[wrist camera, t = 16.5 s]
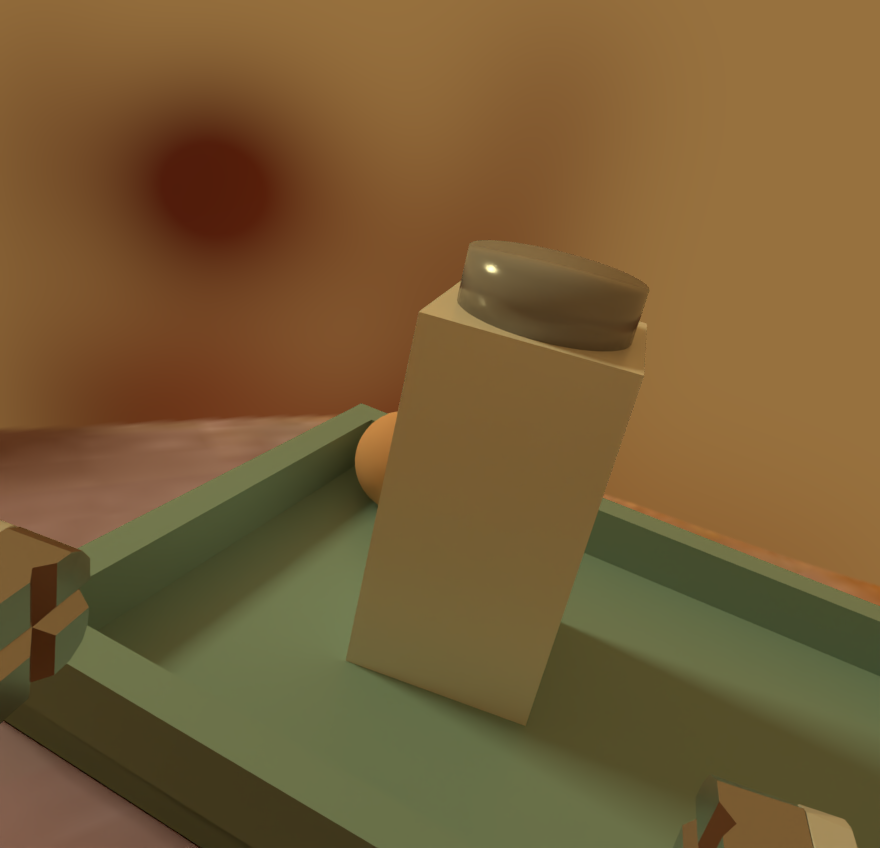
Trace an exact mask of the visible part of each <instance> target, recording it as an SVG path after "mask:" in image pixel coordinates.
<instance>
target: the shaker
mask: <svg viewBox="0 0 880 848" xmlns="http://www.w3.org/2000/svg"><path fill="white" fill-rule="evenodd" d="M648 293H649V287H648V286H647V285H646V284H645V283H643V282H642V281H640V280H639V279H637V278H635V277H633V276H631V275H629V274H627V273H625V272H622V271H620V270H618V269H615V268H612V267H610V266H607V265H604V264H601V263H599V262H595V261H592V260H589V259H586V258H582V257H579V256H575V255H572V254H568V253H564V252H560V251H556V250H552V249H548V248H543V247H538V246H533V245H528V244H521V243H515V242H507V241H496V240H495V241H494V240H480V241H474V242H472V243H470V244H469V249H468V253H467V257H466V261H465V266H464V270H463V275H462V279H461V281H460V282H459V283H457V284H456V285H455V286H453V287H452V288H451V289H449V290H448V291H447V292H445V293H444V294H443V295H441V296H440V297H438V298H437V299H436V300H434V301H433V302H431V303H430V304H429V305H428V306H426V307H425V308H423V309H422V310H421V311H419V314H418V319H417V324H416V328H415V333H414V337H413V342H412V347H411V352H410V356H409V361H408V366H407V371H406V375H405V380H404V385H403V390H402V394H401V399H400V404H399V409H398V413H397V418H396V423H395V428H394V432H393V437H392V442H391V447H390V452H389V456H388V461H387V466H386V471H385V475H384V480H383V485H382V490H381V494H380V499H379V504H378V509H377V513H376V518H375V523H374V528H373V532H372V537H371V542H370V547H369V551H368V556H367V561H366V566H365V570H364V575H363V580H362V585H361V589H360V594H359V599H358V604H357V608H356V613H355V618H354V623H353V627H352V632H351V637H350V642H349V646H348V651H347V656H346V661H348V662H351V663H354V664H356V665H359V666H362V667H365V668H367V669H370V670H373V671H376V672H378V673H381V674H384V675H387V676H389V677H392V678H395V679H398V680H400V681H403V682H406V683H409V684H411V685H414V686H417V687H420V688H422V689H425V690H428V691H431V692H433V693H436V694H439V695H442V696H444V697H447V698H450V699H453V700H455V701H458V702H461V703H464V704H466V705H469V706H472V707H475V708H477V709H480V710H483V711H486V712H488V713H491V714H494V715H497V716H499V717H502V718H505V719H508V720H510V721H513V722H516V723H519V724H521V725H524V726H526V723H527V720H528V717H529V714H530V711H531V708H532V705H533V702H534V699H535V696H536V693H537V690H538V687H539V684H540V681H541V678H542V676H543V673H544V670H545V667H546V664H547V661H548V658H549V655H550V652H551V649H552V646H553V643H554V640H555V637H556V634H557V631H558V628H559V625H560V622H561V619H562V616H563V613H564V611H565V608H566V605H567V602H568V599H569V596H570V593H571V590H572V587H573V584H574V581H575V578H576V575H577V572H578V569H579V566H580V563H581V560H582V557H583V554H584V551H585V548H586V546H587V543H588V540H589V537H590V534H591V531H592V528H593V525H594V522H595V519H596V516H597V513H598V510H599V507H600V504H601V501H602V498H603V495H604V492H605V489H606V486H607V483H608V481H609V477H610V475H611V472H612V469H613V465H614V463H615V460H616V457H617V454H618V451H619V448H620V445H621V442H622V439H623V436H624V433H625V430H626V427H627V424H628V421H629V418H630V416H631V413H632V410H633V407H634V404H635V401H636V398H637V395H638V391H639V389H640V386H641V383H642V380H643V377H644V367H645V348H646V332H647V324H646V323H642V322H639V320H640V317H641V314H642V311H643V308H644V305H645V302H646V299H647V296H648Z"/></svg>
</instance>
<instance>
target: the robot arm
mask: <svg viewBox="0 0 880 848" xmlns="http://www.w3.org/2000/svg"><path fill="white" fill-rule="evenodd" d="M89 580H90V557H88V556H87V555H86V554H85V553H84V552H83V551H82V550H79V549H76V548H74V547H71V546H69V545H66V544H63V543H61V542H58V541H56V540H53V539H50V538H48V537H45V536H43V535H40V534H37V533H35V532H32V531H30V530H27V529H24V528H22V527H17V526H14V525H12V524H9V523H7V522H4V521H2V520H0V723H1V722H3V721H4V720H5V719H6V718H7V717H8V716H9V715H10V714H12V713H13V712H14V711H15V710H16V709H17V708H18V707H19V706H21V705H22V704H23V703H24V702H25V701H26V700H27V699H28V698H29V693H30V686H31V682H34V681H37V680H40V679H43V678H47V677H50V676H53V675H55V674H56V673H57V672H58V671H59V670H60V669H61V668H62V667H63V666H64V665H66V664H67V663H68V662H69V661H70V660H71V658H72V656H73V655H74V653H75V652H76V650H77V648H78V647H79V645H80V644H81V642H82V640H83V637H84V634H85V631H86V628H87V624H88V615H89V606H88V605H87V603H86V601H85V599H84V597H83V595H82V593H81V591H80V590H79V589H80V588H81V587H82V586H84V585H85V584H86V583H87V582H88V581H89ZM695 802H696V819H695V820H693V821H691V822H688V823H686V824H684V825H682V827H681V829H680V832H679V834H678V836H677V839H676V841H675V843H674V846H673V848H858V847H857V844H856V841H855V837H854V834H853V831H852V828H851V826H850V825H849V824H848V823H847V822H846V820H845V819H842V818H839V817H836V816H833V815H830V814H827V813H824V812H821V811H818V810H815V809H812V808H809V807H806V806H803V805H800V804H799V805H796V804H794V803H791V802H789V801H786V800H783V799H780V798H777V797H774V796H771V795H768V794H766V793H763V792H760V791H757V790H754V789H751V788H748V787H745V786H743V785H740V784H737V783H734V782H731V781H728V780H725V779H723V778H720V777H717V776H714V775H711V774H710V775H709V776H708V777H707V778H706V779H705V781H704V782H703V783H702V785H701V787H700V789H699V791H698V793H697V795H696V797H695Z"/></svg>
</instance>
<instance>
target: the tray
mask: <svg viewBox="0 0 880 848" xmlns="http://www.w3.org/2000/svg"><path fill="white" fill-rule="evenodd" d="M385 415H387V413H384V412H382V411H379V410H377V409H374V408H372V407H369V406H366V405H364V404H359V405H357V406H355V407H353V408H352V409H350V410H348V411H346V412H344V413H342V414H340V415H338V416H336V417H334V418H332V419H330V420H328V421H326V422H324V423H322V424H320V425H318V426H316V427H314V428H312V429H310V430H308V431H306V432H305V433H303V434H301V435H299V436H297V437H295V438H293V439H291V440H289V441H287V442H285V443H283V444H281V445H279V446H277V447H275V448H273V449H271V450H269V451H267V452H265V453H263V454H261V455H260V456H258V457H256V458H254V459H252V460H250V461H248V462H246V463H244V464H242V465H240V466H238V467H236V468H234V469H232V470H230V471H228V472H226V473H224V474H222V475H220V476H218V477H216V478H215V479H213V480H211V481H209V482H207V483H205V484H203V485H201V486H199V487H197V488H195V489H193V490H191V491H189V492H187V493H185V494H183V495H181V496H179V497H177V498H175V499H173V500H171V501H170V502H168V503H166V504H164V505H162V506H160V507H158V508H156V509H154V510H152V511H150V512H148V513H146V514H144V515H142V516H140V517H138V518H136V519H134V520H132V521H130V522H128V523H126V524H125V525H123V526H121V527H119V528H117V529H115V530H113V531H111V532H109V533H107V534H105V535H103V536H101V537H99V538H97V539H95V540H93V541H91V542H89V543H87V544H85V545H83V546H81V547H80V548H78V549H79V550H82V551H83V552H84V553H85V554H86V555H87V556H88V557H90V580H89V581H88V582H87V583H86V584H85V585H84V586H82V587H81V588H80V589H79V590H80V591H81V593H82V595H83V597H84V599H85V601H86V603H87V605H88V606H89V615H88V624H87V628H86V631H85V634H84V637H83V640H82V642H81V644H80V645H79V647H78V648H77V650H76V652H75V653H74V655H73V656H72V658H71V660H70V661H69V662H68V663H67V664H66V665H64V666H63V667H62V668H61V669H60V670H59V671H58V672H57V673H56V674H55V675H53V676H50V677H47V678H43V679H40V680H37V681H34V682H31V686H30V693H29V698H28V699H27V700H26V701H25V702H24V703H23V704H22V705H21V706H19V707H18V708H17V709H16V710H15V711H14V712H13V713H12V714H10V715H9V716H8V717H7V718H6V719H5V721H6V722H8V723H9V724H11V725H12V726H14V727H15V728H17V729H19V730H20V731H22V732H23V733H25V734H26V735H28V736H29V737H31V738H32V739H34V740H36V741H37V742H39V743H40V744H42V745H43V746H45V747H46V748H48V749H49V750H51V751H53V752H54V753H56V754H57V755H59V756H60V757H62V758H63V759H65V760H67V761H68V762H70V763H71V764H73V765H74V766H76V767H77V768H79V769H80V770H82V771H84V772H85V773H87V774H88V775H90V776H91V777H93V778H94V779H96V780H97V781H99V782H101V783H102V784H104V785H105V786H107V787H108V788H110V789H111V790H113V791H115V792H116V793H118V794H119V795H121V796H122V797H124V798H125V799H127V800H128V801H130V802H132V803H133V804H135V805H136V806H138V807H139V808H141V809H142V810H144V811H145V812H147V813H149V814H150V815H152V816H153V817H155V818H156V819H158V820H159V821H161V822H163V823H164V824H166V825H167V826H169V827H170V828H172V829H173V830H175V831H176V832H178V833H180V834H181V835H183V836H184V837H186V838H187V839H189V840H190V841H192V842H193V843H195V844H197V845H198V846H200V847H201V848H673V846H674V843H675V841H676V839H677V836H678V834H679V832H680V829H681V827H682V825H684V824H686V823H688V822H691V821H693V820H695V819H696V802H695V797H696V795H697V793H698V791H699V789H700V787H701V785H702V783H703V782H704V781H705V779H706V778H707V777H708V776H709V775H710V774H711V775H714V776H717V777H720V778H723V779H725V780H728V781H731V782H734V783H737V784H740V785H743V786H745V787H748V788H751V789H754V790H757V791H760V792H763V793H766V794H768V795H771V796H774V797H777V798H780V799H783V800H786V801H789V802H791V803H794V804H796V805H799V804H800V805H803V806H806V807H809V808H812V809H815V810H818V811H821V812H824V813H827V814H830V815H833V816H836V817H839V818H842V819H845V820H846V822H847V823H848V824H849V825H850V826H851V828H852V831H853V834H854V837H855V841H856V844H857V847H858V848H880V606H878V605H875V604H873V603H870V602H868V601H865V600H862V599H860V598H857V597H855V596H852V595H850V594H847V593H845V592H842V591H839V590H837V589H834V588H832V587H829V586H827V585H824V584H822V583H819V582H816V581H814V580H811V579H809V578H806V577H804V576H801V575H799V574H796V573H793V572H791V571H788V570H786V569H783V568H781V567H778V566H776V565H773V564H770V563H768V562H765V561H763V560H760V559H758V558H755V557H753V556H750V555H747V554H745V553H742V552H740V551H737V550H735V549H732V548H730V547H727V546H724V545H722V544H719V543H717V542H714V541H712V540H709V539H707V538H704V537H701V536H699V535H696V534H694V533H691V532H689V531H686V530H684V529H681V528H678V527H676V526H673V525H671V524H668V523H666V522H663V521H661V520H658V519H655V518H653V517H650V516H648V515H645V514H643V513H640V512H638V511H635V510H632V509H630V508H627V507H625V506H622V505H620V504H617V503H615V502H612V501H609V500H607V499H604V498H602V501H601V504H600V507H599V510H598V513H597V516H596V519H595V522H594V525H593V528H592V531H591V534H590V537H589V540H588V543H587V546H586V548H585V551H584V554H583V557H582V560H581V563H580V566H579V569H578V572H577V575H576V578H575V581H574V584H573V587H572V590H571V593H570V596H569V599H568V602H567V605H566V608H565V611H564V613H563V616H562V619H561V622H560V625H559V628H558V631H557V634H556V637H555V640H554V643H553V646H552V649H551V652H550V655H549V658H548V661H547V664H546V667H545V670H544V673H543V676H542V678H541V681H540V684H539V687H538V690H537V693H536V696H535V699H534V702H533V705H532V708H531V711H530V714H529V717H528V720H527V723H526V726H524V725H521V724H519V723H516V722H513V721H510V720H508V719H505V718H502V717H499V716H497V715H494V714H491V713H488V712H486V711H483V710H480V709H477V708H475V707H472V706H469V705H466V704H464V703H461V702H458V701H455V700H453V699H450V698H447V697H444V696H442V695H439V694H436V693H433V692H431V691H428V690H425V689H422V688H420V687H417V686H414V685H411V684H409V683H406V682H403V681H400V680H398V679H395V678H392V677H389V676H387V675H384V674H381V673H378V672H376V671H373V670H370V669H367V668H365V667H362V666H359V665H356V664H354V663H351V662H348V661H346V656H347V651H348V646H349V642H350V637H351V632H352V627H353V623H354V618H355V613H356V608H357V604H358V599H359V594H360V589H361V585H362V580H363V575H364V570H365V566H366V561H367V556H368V551H369V547H370V542H371V537H372V532H373V528H374V523H375V518H376V513H377V509H378V504H376V503H375V502H374V501H373V500H372V499H371V498H369V497H368V495H367V494H366V493H365V492H364V490H363V489H362V487H361V485H360V483H359V480H358V477H357V474H356V469H355V455H356V450H357V446H358V443H359V441H360V439H361V437H362V435H363V434H364V432H365V431H366V430H367V428H368V427H369V426H370V425H371V424H372V423H373V422H375V421H376V420H378V419H379V418H381V417H382V416H385Z"/></svg>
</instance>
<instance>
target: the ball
mask: <svg viewBox="0 0 880 848" xmlns="http://www.w3.org/2000/svg"><path fill="white" fill-rule="evenodd" d="M397 413H398V411H397V412H393V413H389V414H387V415H385V416H382V417H381V418H379V419H378V420H376V421H375V422H373V423H372V424H371V425H370V426H369V427H368V428H367V430H366V431H365V432H364V434H363V435H362V437H361V439H360V441H359V443H358V446H357V450H356V455H355V469H356V474H357V477H358V480H359V483H360V485H361V487H362V489H363V490H364V492H365V493H366V494H367V495H368V497H369V498H371V499H372V500H373V501H374V502H375V503H376V504H379V499H380V494H381V490H382V485H383V480H384V475H385V471H386V466H387V461H388V456H389V452H390V447H391V442H392V437H393V432H394V428H395V423H396V418H397Z"/></svg>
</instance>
